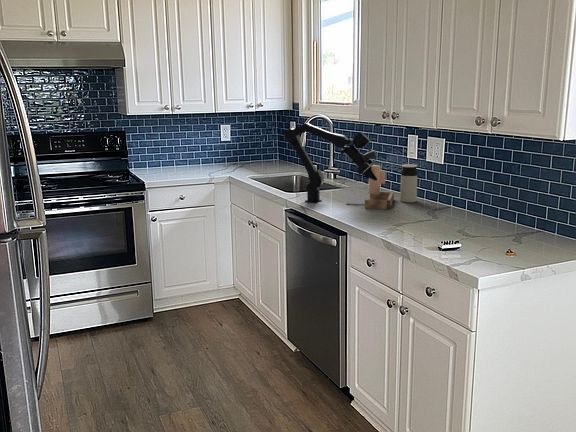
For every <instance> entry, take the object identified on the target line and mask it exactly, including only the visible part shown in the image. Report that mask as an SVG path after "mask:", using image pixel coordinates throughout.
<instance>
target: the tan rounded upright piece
mask: <svg viewBox="0 0 576 432" xmlns="http://www.w3.org/2000/svg"><path fill="white" fill-rule="evenodd" d="M370 166H371V170H372V172H373V173H374V175H375V176H376V178H377V180H376V181H375V180H373V179H371V178H368V190H367V191H368V192H367V193H368V194H369V195H370V194H380V191H381V185H382V184H383V185H384V184H386V171H385V170H381V169H382V168H381V167H382V166H381V165H378V164H373V165H370ZM370 166H369V167H370Z"/></svg>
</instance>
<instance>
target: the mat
mask: <svg viewBox="0 0 576 432" xmlns="http://www.w3.org/2000/svg"><path fill="white" fill-rule="evenodd" d="M346 206H365V199H349V200H348V201H347V203H346Z"/></svg>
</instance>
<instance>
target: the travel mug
mask: <svg viewBox="0 0 576 432" xmlns="http://www.w3.org/2000/svg"><path fill="white" fill-rule="evenodd" d="M401 167H402V168H401V170H400V191H399V193H400V194H399V196H400V198H399V200H400V202H402V203H406V204H407V203H409V204H410V203H416V202H417V198H418V196H417V195H418V175H419V174H418V170H417V167H418V165H417V164H413V163H411V164H409V163H408V164H405V163H404V164H402V165H401Z"/></svg>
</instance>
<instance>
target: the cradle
mask: <svg viewBox="0 0 576 432" xmlns="http://www.w3.org/2000/svg"><path fill="white" fill-rule="evenodd" d="M394 196H395V191H382V190H380V194H369V199H367V198H365V199H364V200H365V205H364V209H379V210H380V209H381V210H384V209H385V210H390V209H391V207H392V204H393V202H394V199H395V197H394Z"/></svg>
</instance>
